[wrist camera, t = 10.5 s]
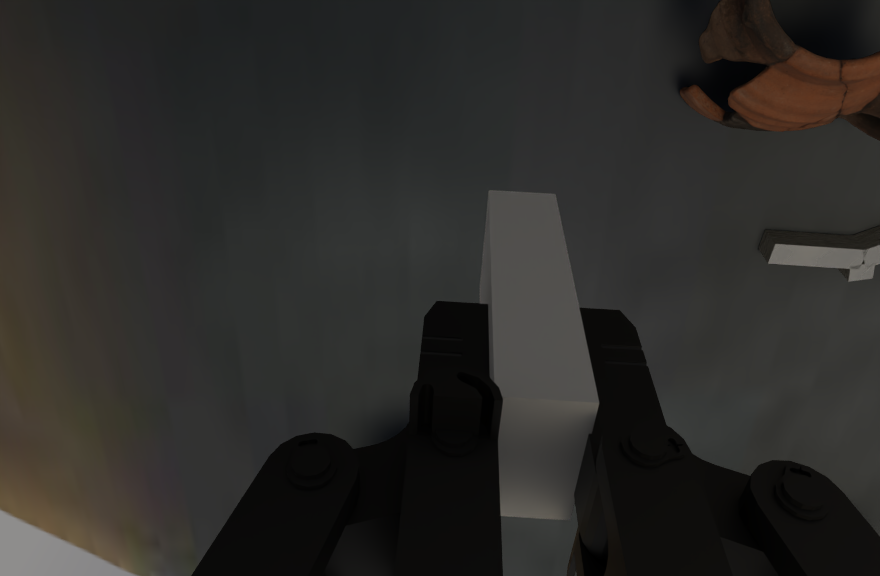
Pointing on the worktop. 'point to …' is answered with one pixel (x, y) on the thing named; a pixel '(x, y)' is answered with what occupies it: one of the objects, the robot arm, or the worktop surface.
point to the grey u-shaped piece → (825, 251)
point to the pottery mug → (784, 76)
